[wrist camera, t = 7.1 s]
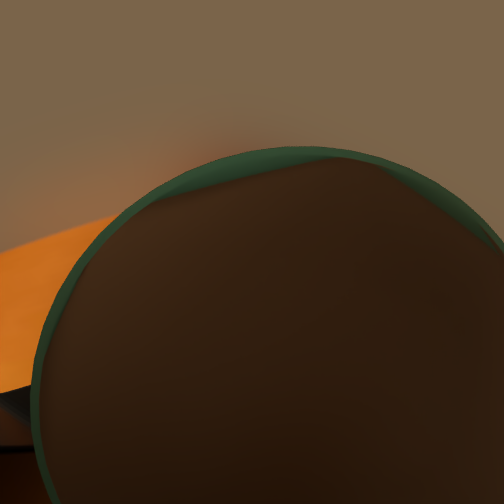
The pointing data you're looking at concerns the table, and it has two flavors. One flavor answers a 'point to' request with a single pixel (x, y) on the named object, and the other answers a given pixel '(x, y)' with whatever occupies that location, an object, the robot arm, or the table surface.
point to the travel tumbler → (279, 342)
